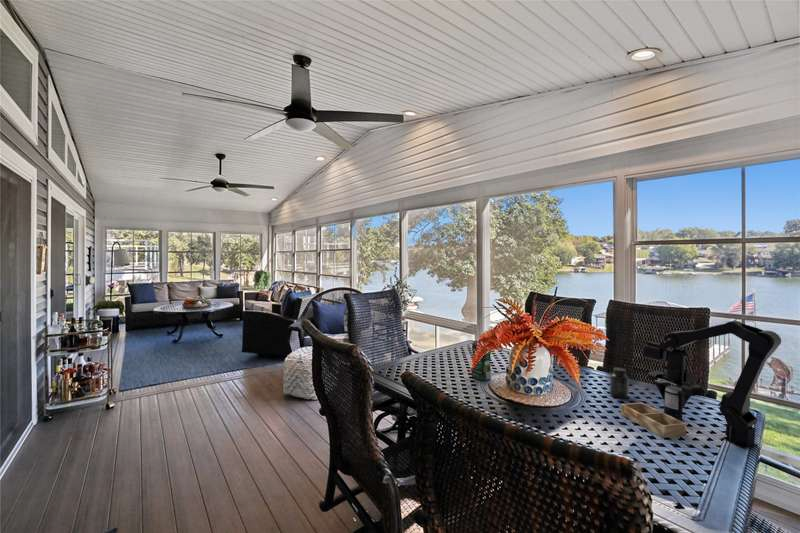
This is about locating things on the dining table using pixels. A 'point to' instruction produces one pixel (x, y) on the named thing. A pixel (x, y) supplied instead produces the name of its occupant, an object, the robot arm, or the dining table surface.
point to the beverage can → (672, 402)
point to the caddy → (653, 420)
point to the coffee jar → (481, 366)
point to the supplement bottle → (619, 383)
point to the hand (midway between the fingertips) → (673, 404)
